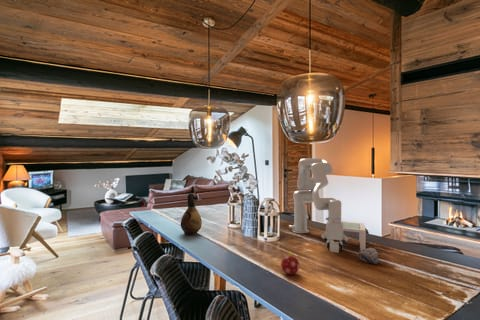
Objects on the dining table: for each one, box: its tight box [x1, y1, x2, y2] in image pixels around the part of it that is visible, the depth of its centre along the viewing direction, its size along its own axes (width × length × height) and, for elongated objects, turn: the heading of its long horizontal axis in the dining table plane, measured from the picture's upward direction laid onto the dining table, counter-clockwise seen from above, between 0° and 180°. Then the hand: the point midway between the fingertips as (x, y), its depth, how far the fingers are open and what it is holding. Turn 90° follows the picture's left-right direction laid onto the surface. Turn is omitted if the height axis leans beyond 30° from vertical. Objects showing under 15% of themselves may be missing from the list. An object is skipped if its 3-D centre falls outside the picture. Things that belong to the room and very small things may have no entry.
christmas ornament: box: [280, 252, 300, 276], centre depth 134 cm, size 9×9×10 cm
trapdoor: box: [341, 221, 359, 229], centre depth 183 cm, size 15×14×1 cm
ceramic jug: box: [180, 192, 203, 237], centre depth 205 cm, size 17×15×30 cm
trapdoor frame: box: [329, 220, 367, 251], centre depth 183 cm, size 22×21×12 cm
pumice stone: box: [358, 247, 380, 265], centre depth 152 cm, size 10×8×10 cm
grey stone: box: [329, 241, 340, 254], centre depth 169 cm, size 5×5×5 cm
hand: (334, 249), depth 169 cm, fingers open, 6 cm apart
